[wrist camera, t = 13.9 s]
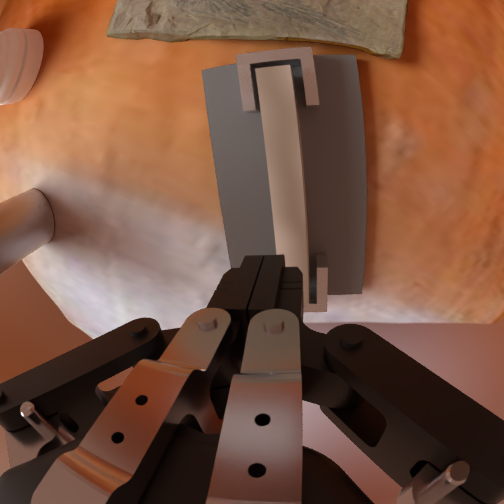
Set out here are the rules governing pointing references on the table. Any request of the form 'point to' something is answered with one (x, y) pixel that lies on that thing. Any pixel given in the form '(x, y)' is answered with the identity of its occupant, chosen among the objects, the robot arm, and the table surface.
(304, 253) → the slat
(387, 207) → the table surface
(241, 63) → the end caps
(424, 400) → the robot arm
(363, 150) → the base board
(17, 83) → the honey pot
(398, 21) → the stone slab
